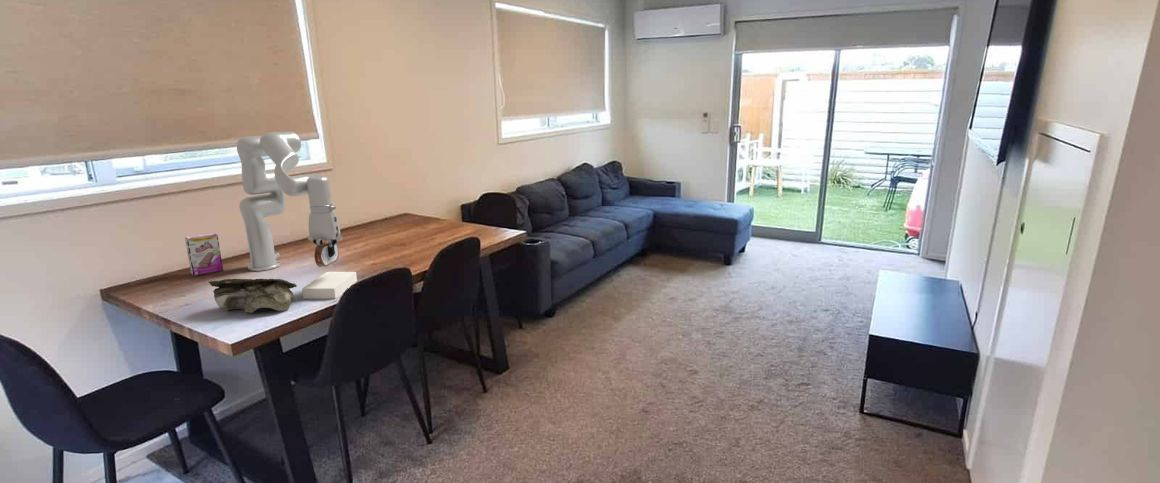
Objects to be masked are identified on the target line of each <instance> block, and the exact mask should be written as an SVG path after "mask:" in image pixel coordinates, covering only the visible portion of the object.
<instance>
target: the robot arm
mask: <svg viewBox="0 0 1160 483" xmlns="http://www.w3.org/2000/svg"><path fill="white" fill-rule="evenodd" d="M300 149H302V141H301V139H300V137H299V136H298V134H297V133H295V132H293V131H289V130H288V131H273V132H272V131H271V132H267V133H264V134H263V135H251V136H249V135H248V136H244V137H240V138H239V139H238V140H237V142H236V152H237V154H238V157H239V161H240V164H241V179H242V180H241V181H242V189H243V191H244V192H245V194H247V195H251V196H248V197H245V198H243V199H241V200H240V202H239V205H238V208H239V211H240V214H241V216H242V220H243V222H244V228H245V233H246V239H247V246H248V251H249V257H250V264H248V265H247V269H248V270H249V271H253V272H260V271H261V272H262V271H268V270H274V269H276V268H279V267H280V266H281V261H279V260H277V258H279V257H280V256H281V255H280V253H279V252H275V246H274V239H273V232H272V227H271V225H270V224H269V223H268V221H266V220H265V219H264V218H268V217H273V216H278V215H281V214H283V213H284V212H285V211H286V210H285V209H286V195H287V196H289V197H299V196H305V195H308V202H309V209H310V213H309V214H308V233H309V235H308V237H307V240H308V241H309V242H312V243H313V244H315V246H316V247H317V246H318V245H320V244H322V243H324V240H327V241H328V243H329V247H328V253H329V257H332V256H334V254H335V249H334V245H335V244H336V243H337V244H338V242H341V241H342V240H343V237H342V235H341V229H340V224H339V220H338V216H337V213H336V212H335V211H336V209H337V207H336V205H335V206H334V205H333V202H332V195H331V186H330V180H329V178H328V177H327V176H323V175H319V174H316V173H308V174H299V175H293V176H292V175H291V176H290V175H289V174H287V173H288V172H289V171H292V170H293V169H294V168H296V166H297V165H298V163H299V158H300V157H299V155H298V153H297V152H299V151H300ZM262 157H269V158H270V160H271V161H272V162H273V163H274V164H275V166H274V170H273V169H270V170H266V162H265V160H264V158H262ZM253 195H254V196H253Z"/></svg>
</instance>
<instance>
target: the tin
mask: <svg viewBox="0 0 1160 483" xmlns="http://www.w3.org/2000/svg"><path fill="white" fill-rule="evenodd" d="M328 247H329V243H328V240H327V241H325V242H323V243H322V244H320V245H318V246H317V245H316V247H315V249H314V257H313V258H314V262H315V264H316V266H317V267H319V268H321V267H328V266H329V265H331V264H334V263H335V262H337V260H338V259H339V255H340V254H339V245H338V242H337V243H336V244H335V245H334V249H335V254H334V256H332V257H329V253H328Z"/></svg>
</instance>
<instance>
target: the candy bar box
mask: <svg viewBox="0 0 1160 483" xmlns="http://www.w3.org/2000/svg"><path fill="white" fill-rule="evenodd" d="M184 240H185V245H186V246H185V247H186V252H187V257H188V263H189V268H190V273H191V275H192V276H193V277H196V276H197V277H198V276H202V275H208V274H213V273H220V272H223V271H224V267H223V261H222V255H221V247H220V242H219V237H218V234H217V233H215V232H214V233H213V232H212V233H205V234H197V235H189V236H185V237H184Z"/></svg>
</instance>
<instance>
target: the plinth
mask: <svg viewBox="0 0 1160 483" xmlns="http://www.w3.org/2000/svg"><path fill="white" fill-rule="evenodd" d="M357 282H358V277H357V272H356V271H326V272H324V273H323V274H322V275H320V276H318V277H317V278H315V279H314V280H312V281H311V282H309V283H307V285H305V286H303V287H302V296H303V299H304V300H306V299H308V300H309V299H316V300H318V299H319V300H320V299H328V300H329V299H333V300H334V299H336V300H337V298H338V297H340V296H341V295H342V294H344V292H346V291H347V290H348V289H350V288H351V287H352V286H353V285H354V284H356V283H357ZM352 284H353V285H352ZM351 285H352V286H351ZM350 286H351V287H350ZM347 288H348V289H347ZM346 289H347V290H346ZM345 290H346V291H345Z"/></svg>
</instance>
